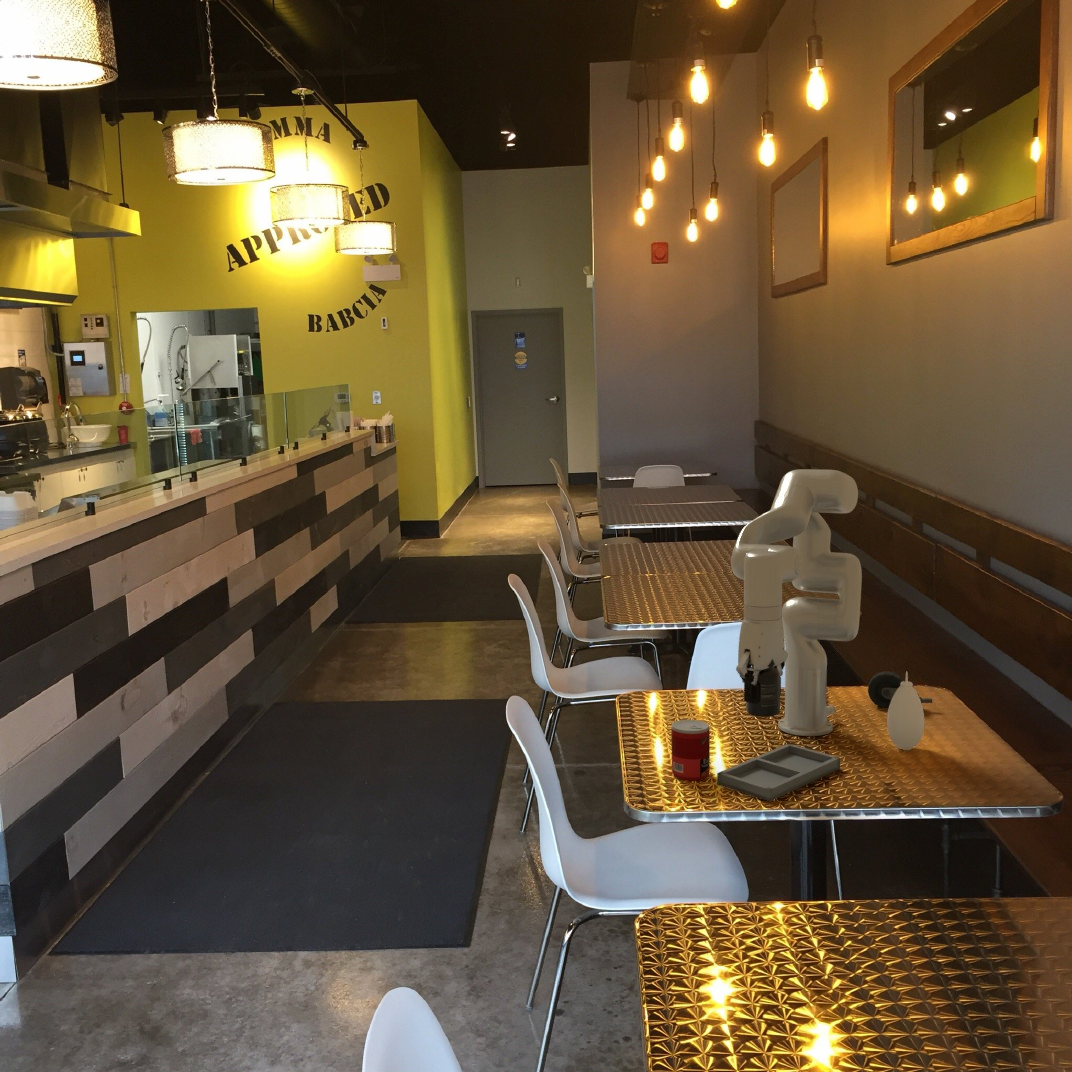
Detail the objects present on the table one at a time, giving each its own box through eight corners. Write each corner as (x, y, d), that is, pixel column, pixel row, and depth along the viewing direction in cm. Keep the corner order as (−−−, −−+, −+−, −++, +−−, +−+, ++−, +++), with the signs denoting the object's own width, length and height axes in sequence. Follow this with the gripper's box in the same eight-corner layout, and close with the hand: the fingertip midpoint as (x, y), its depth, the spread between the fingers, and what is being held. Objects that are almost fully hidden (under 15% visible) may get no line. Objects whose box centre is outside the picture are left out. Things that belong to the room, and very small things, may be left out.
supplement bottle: (783, 709, 218) (783, 652, 216) (776, 719, 212) (776, 661, 210) (750, 706, 221) (750, 650, 219) (742, 715, 215) (742, 658, 213)
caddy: (788, 754, 235) (788, 743, 235) (840, 769, 226) (840, 757, 225) (717, 784, 219) (717, 773, 219) (769, 801, 209) (769, 789, 209)
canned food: (709, 782, 220) (708, 731, 219) (670, 780, 222) (669, 730, 220) (710, 769, 228) (710, 719, 226) (673, 767, 229) (672, 718, 228)
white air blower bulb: (885, 753, 234) (886, 674, 232) (887, 741, 242) (889, 665, 239) (922, 756, 232) (924, 676, 229) (924, 745, 239) (926, 667, 236)
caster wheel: (868, 713, 266) (932, 712, 260) (865, 675, 265) (929, 674, 259) (870, 706, 271) (933, 706, 265) (867, 669, 270) (930, 668, 264)
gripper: (773, 603, 222) (772, 686, 224) (720, 616, 210) (721, 704, 213) (803, 608, 216) (803, 693, 219) (751, 622, 205) (751, 712, 207)
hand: (762, 697), depth 216 cm, fingers closed on supplement bottle, 6 cm apart
